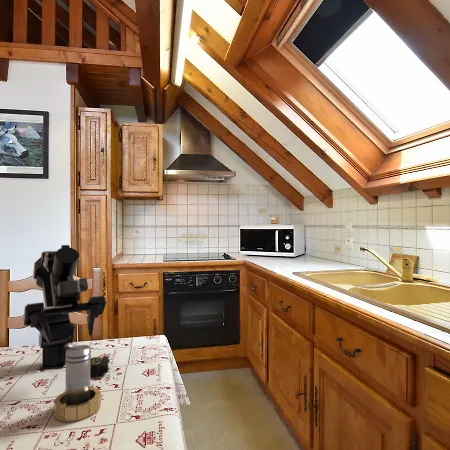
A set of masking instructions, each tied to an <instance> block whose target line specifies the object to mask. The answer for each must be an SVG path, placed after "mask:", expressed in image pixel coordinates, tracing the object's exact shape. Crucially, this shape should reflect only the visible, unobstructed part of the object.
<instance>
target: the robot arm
mask: <svg viewBox="0 0 450 450" xmlns="http://www.w3.org/2000/svg"><path fill="white" fill-rule="evenodd" d="M79 258H80V253H79V251H77V250H76V249H75V248H73V247H71V246H70V245H69V244H61V245H60V248H59V249H57V250H52V251H51V250H46V251H42V252H41V255H40V257H39V258H38V259H37V260H36V261H34V264H33V265H34V266H33V270H32V271H33V273H32V276H33V280H35V283H36V286H37V287H39V288H41V289H42V295H43V296H42V297H43V302H42V301H41V302H35V303H34V302H33V303H27V304H26V305H25V306H24V310H23V311H24V313H23V325H24V326H25V327H30V328H31V329H33V328H35V329H36V330H37V331H38V332H39V335H38V346H39V348H40V349H41V350H42V354H41V356H42V357H41V358H42V360H41V362H42V364H41V366H39V370H49V369H51V370H52V369H63V368H64V367H66V361H65V359H66V357H65V354H66V350H67V349H68V348H70V347H71V346H69V344H73V342H74V336H75V331H76V330H75V329H76V328H75V326H74V324H73V322H71V318H70V315H69V314H70V313H79V312H86V314H87V316H86V323H87V331H88V334H89V337H92V336H93V332H94V326H95V319H97V318H99V317H100V316H101V315H102V314H104V311H105V308H106V306H107V298H106V297H105V296H104V295H97V296H96V295H95V296H89V297H88V301H87V302H80V303H79V301H80V300H81V293H83V292H87V291H88V288H89V284H88V279H87V277H84V278H83V277H82V278H79V279H78V280H77V279H76V280H75V277H74V275H75V274H76V271H77V268H78V263H80V261H79V260H80V259H79Z"/></svg>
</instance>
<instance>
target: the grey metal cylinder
mask: <svg viewBox="0 0 450 450" xmlns="http://www.w3.org/2000/svg"><path fill="white" fill-rule="evenodd" d="M69 347H70V348H68V349H67V350H66V354H65V357H66V359H65V361H66V365H65V391H64V392H65V405H67V406H71V405H79V404H82V403H86V402H88V401H89V400H90V387H91V376H90V358H92V355H91V353H92V350H91V346H90V345H87V344H80V345H78V344H77V345H74V346H73V345H72V346H69Z"/></svg>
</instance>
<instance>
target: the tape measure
mask: <svg viewBox="0 0 450 450" xmlns="http://www.w3.org/2000/svg"><path fill="white" fill-rule="evenodd" d="M110 360H111V359H110V358H109V357H108V356H107V355H106V356H93V357H91V358H90V377H98V376H101V375H105V374H107V373H109V363H110V362H111V361H110Z"/></svg>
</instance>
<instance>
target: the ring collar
mask: <svg viewBox="0 0 450 450" xmlns="http://www.w3.org/2000/svg"><path fill="white" fill-rule="evenodd" d="M101 397H102V391H100V389H99V388H97V387H93V386H90V400H89V401H88V402H86V403H82V404H79V405H71V406H67V405H65V391H63V392H62V393H60V394H58V395H57V396H56V398H55V399H54V401H53V415H54V419H55V420H56V421H58V422H61V423H74V422H79V421H83V420H86V419H87V418H88V419H89V418H90V417H92V416H93V415H95V414H96V413H98V411H99V410H100V408H101V404H102V398H101Z"/></svg>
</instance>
